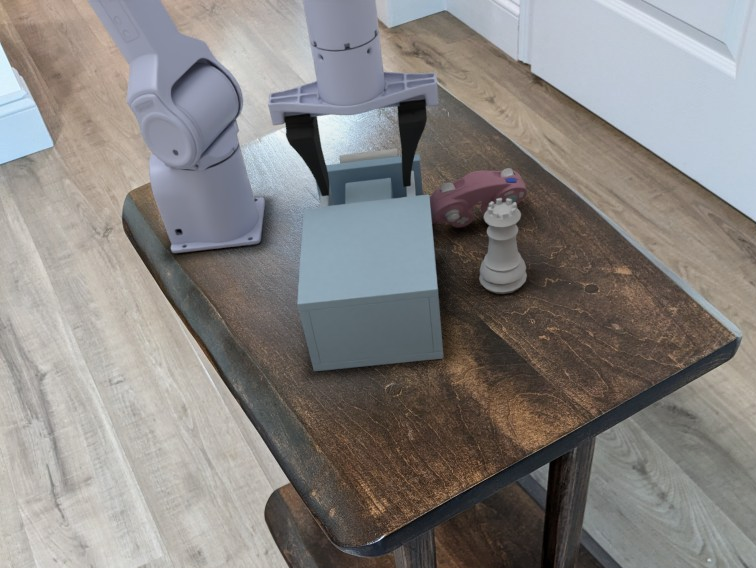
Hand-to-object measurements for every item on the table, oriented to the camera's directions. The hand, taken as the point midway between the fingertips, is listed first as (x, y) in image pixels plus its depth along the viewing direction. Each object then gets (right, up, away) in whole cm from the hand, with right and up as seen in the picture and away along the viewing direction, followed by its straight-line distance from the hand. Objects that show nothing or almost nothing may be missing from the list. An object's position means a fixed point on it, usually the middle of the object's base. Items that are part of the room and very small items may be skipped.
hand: (366, 185), depth 81 cm
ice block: (+1, -3, +4) cm, 5 cm away
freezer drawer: (+1, -3, +6) cm, 6 cm away
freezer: (+1, -12, 0) cm, 12 cm away
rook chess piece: (+13, -9, +1) cm, 16 cm away
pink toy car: (+11, -1, +7) cm, 13 cm away
